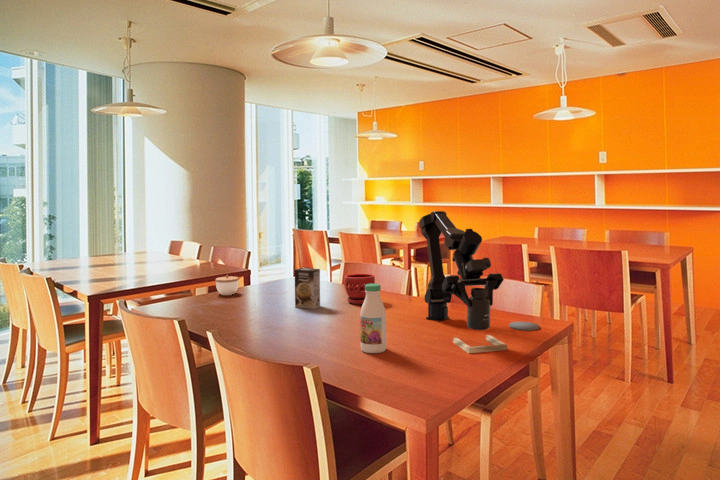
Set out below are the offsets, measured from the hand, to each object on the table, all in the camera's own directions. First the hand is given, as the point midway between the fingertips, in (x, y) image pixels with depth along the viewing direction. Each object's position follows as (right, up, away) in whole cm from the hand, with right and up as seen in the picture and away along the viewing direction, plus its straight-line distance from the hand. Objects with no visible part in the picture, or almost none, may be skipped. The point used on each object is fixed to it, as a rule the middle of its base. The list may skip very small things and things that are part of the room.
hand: (480, 305), depth 149 cm
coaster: (+21, -10, +23) cm, 32 cm away
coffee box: (-59, -8, +59) cm, 83 cm away
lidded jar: (-100, -6, +88) cm, 134 cm away
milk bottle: (-33, -13, 0) cm, 35 cm away
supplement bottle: (0, -7, +2) cm, 7 cm away
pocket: (0, -13, +2) cm, 13 cm away
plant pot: (-37, -8, +66) cm, 76 cm away
